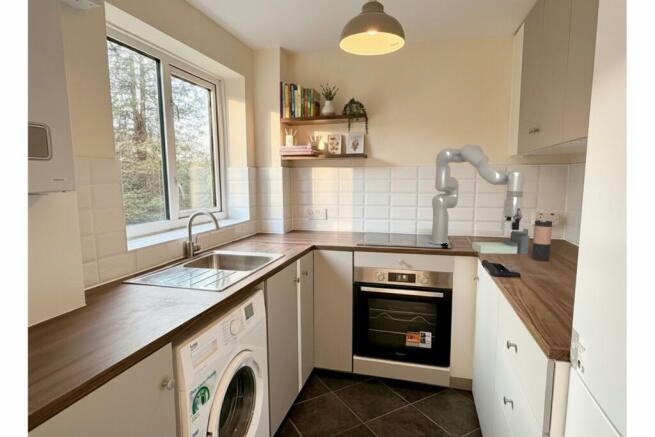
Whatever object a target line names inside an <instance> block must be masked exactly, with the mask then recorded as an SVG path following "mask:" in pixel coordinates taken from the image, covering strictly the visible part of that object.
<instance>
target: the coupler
mask: <svg viewBox="0 0 655 437" xmlns="http://www.w3.org/2000/svg"><path fill="white" fill-rule="evenodd" d="M471 243H472V244H471V245H472V246H471V249H472V250H473V251H475V252H478V253H479V254H504V255H505V254H507V255H508V254H509V255H510V254H511V255H512V254H514V255H515V254H520V255H528V254H529V248H530V247H529V246H530V244H529V243H530V236H529V229H528V228H523V231H511V232H510V238H509V239H508V238H505V239H504V238H502V239H501V242H498V241H497V242H494V241H493V242H491V241H490V242H485V241H484V242H483V241H482V242H481V241H478V242H477V241H476V242H475V241H472V242H471Z"/></svg>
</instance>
